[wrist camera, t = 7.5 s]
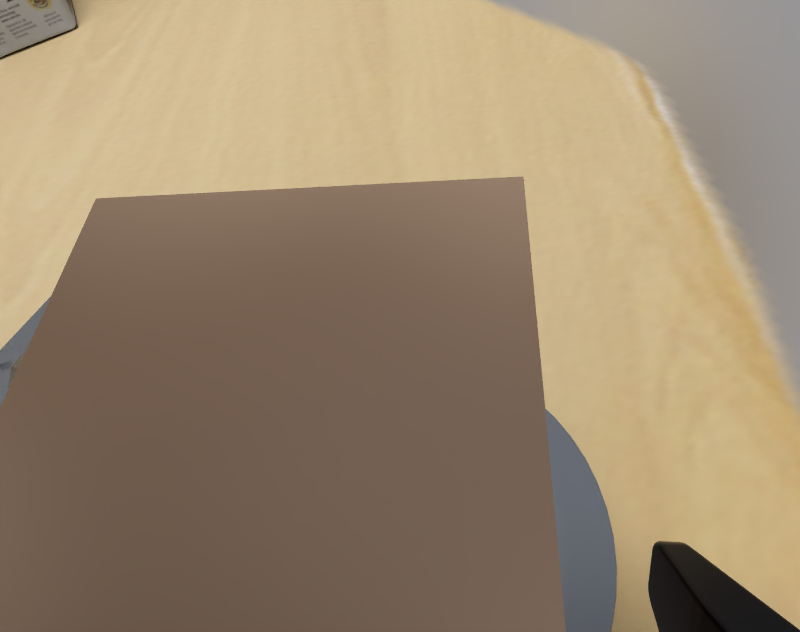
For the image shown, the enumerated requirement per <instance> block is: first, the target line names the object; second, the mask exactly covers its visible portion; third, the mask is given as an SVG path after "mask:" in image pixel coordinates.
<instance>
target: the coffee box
mask: <svg viewBox="0 0 800 632" xmlns="http://www.w3.org/2000/svg"><path fill="white" fill-rule="evenodd" d="M75 26H76V20H75V15H74V11H73V7H72V2H71V0H0V57H2V56H5V55H7V54H10V53H12V52H14V51H17V50H20V49H22V48H25V47H27V46H30V45H32V44H35V43H37V42H40V41H42V40H45V39H47V38H50V37H53V36H55V35H58V34H60V33H63V32H66V31H69V30H71V29H73V28H74V27H75Z"/></svg>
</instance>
